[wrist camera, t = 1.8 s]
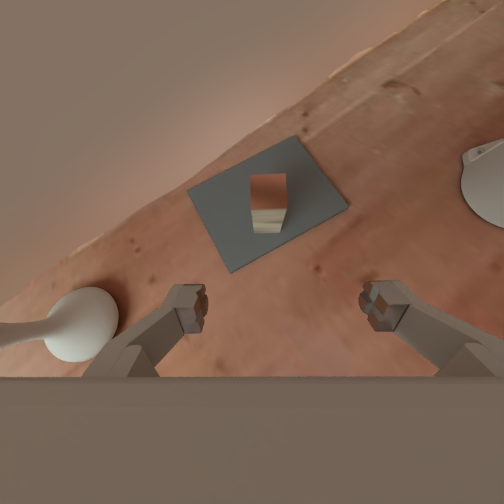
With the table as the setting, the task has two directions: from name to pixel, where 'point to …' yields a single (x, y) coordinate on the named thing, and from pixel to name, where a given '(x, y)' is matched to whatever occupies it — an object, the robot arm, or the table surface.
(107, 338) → the flower in vase
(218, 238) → the slate mat
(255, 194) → the birch block
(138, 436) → the robot arm
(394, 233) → the table surface
